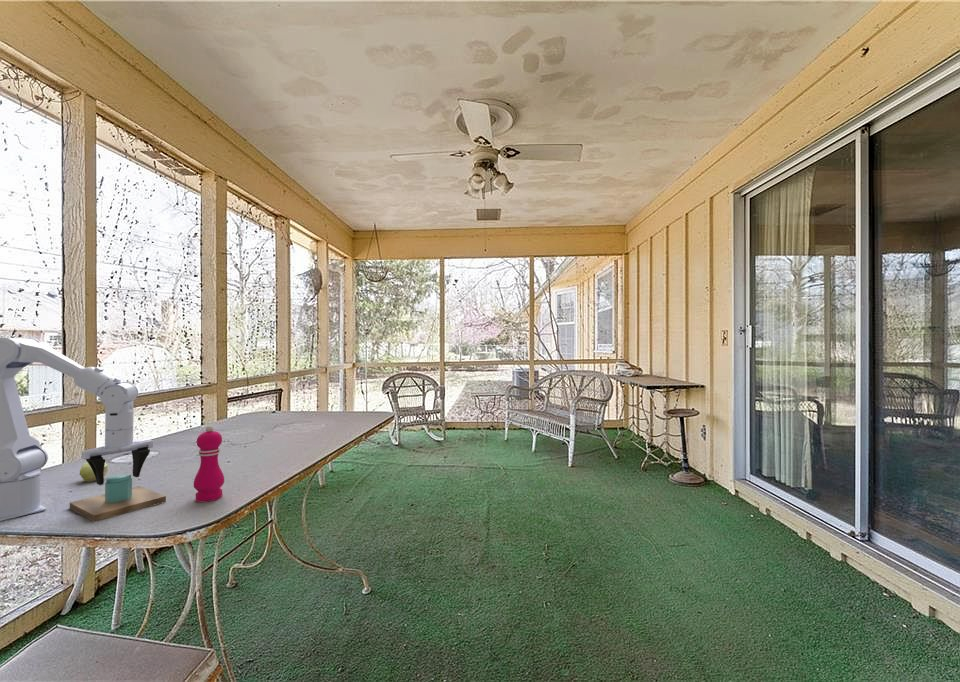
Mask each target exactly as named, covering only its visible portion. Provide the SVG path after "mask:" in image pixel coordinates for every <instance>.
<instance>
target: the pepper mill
mask: <svg viewBox="0 0 960 682" xmlns="http://www.w3.org/2000/svg"><path fill="white" fill-rule="evenodd" d="M222 442H223V436H222V434H221V433H220V432H218V431H215V430H214V427H213V426H212V425H208V426H206V428H205V431H204V432H202V433H200V434H199V435H198V436H197V438H196V446H197V447H198V448H199V450H198V456H200V466H199V468H198V470H197V473H196V475H195V477H194V479H193V480H194V481H193V488H194V489H195V490H196V491H197V492H195V501H196V502H198V503H205V502H206V503H207V502H212V501H216V500H218V499H220V498H222V497H223V488H222V486H223V485H224V484H225V476H224V473H223V471H222V469H221V468H220V464H219V454H220V453H221V451H220V450H221V448H220V446H221V445H222Z"/></svg>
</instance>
